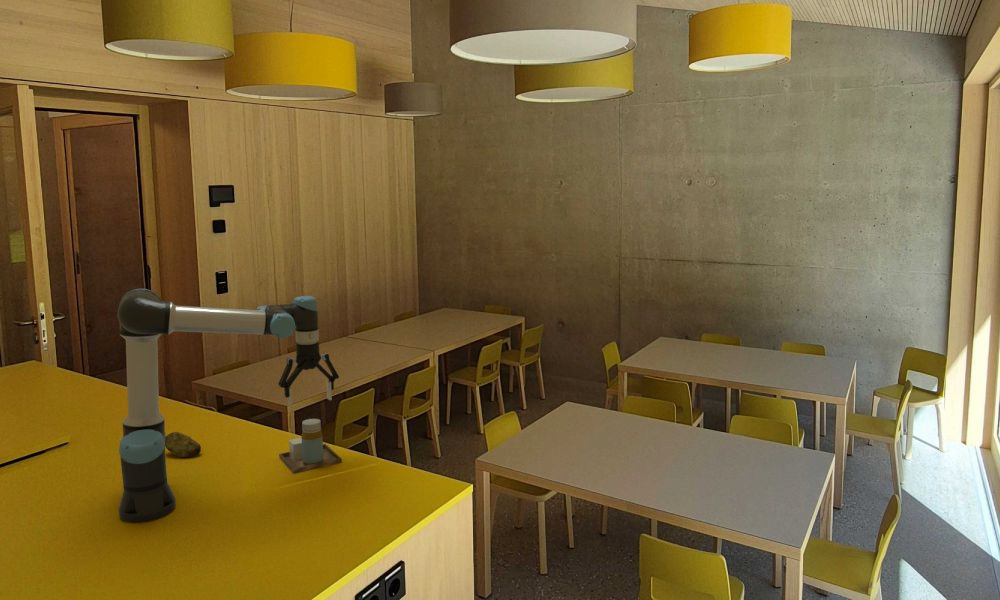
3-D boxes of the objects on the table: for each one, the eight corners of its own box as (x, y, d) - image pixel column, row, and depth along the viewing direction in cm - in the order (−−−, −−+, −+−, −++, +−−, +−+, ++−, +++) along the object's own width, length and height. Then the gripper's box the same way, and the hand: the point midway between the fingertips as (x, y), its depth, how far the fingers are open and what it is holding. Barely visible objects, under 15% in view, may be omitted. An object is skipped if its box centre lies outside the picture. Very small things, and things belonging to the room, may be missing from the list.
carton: (294, 460, 241) (293, 444, 240) (289, 456, 245) (288, 440, 244) (321, 454, 247) (321, 438, 246) (317, 450, 251) (316, 434, 250)
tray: (293, 475, 231) (293, 469, 231) (279, 459, 244) (279, 453, 244) (341, 463, 240) (341, 458, 240) (325, 449, 253) (325, 443, 253)
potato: (183, 462, 241) (181, 441, 239) (161, 455, 247) (159, 434, 246) (204, 454, 248) (202, 433, 247) (181, 447, 254) (180, 427, 253)
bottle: (298, 463, 239) (296, 422, 236) (315, 457, 244) (313, 416, 242) (311, 468, 235) (309, 426, 232) (327, 462, 240) (326, 421, 238)
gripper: (273, 349, 222) (276, 412, 226) (346, 339, 236) (348, 399, 240) (266, 344, 228) (270, 405, 232) (338, 335, 242) (340, 393, 246)
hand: (310, 402), depth 236 cm, fingers open, 13 cm apart
